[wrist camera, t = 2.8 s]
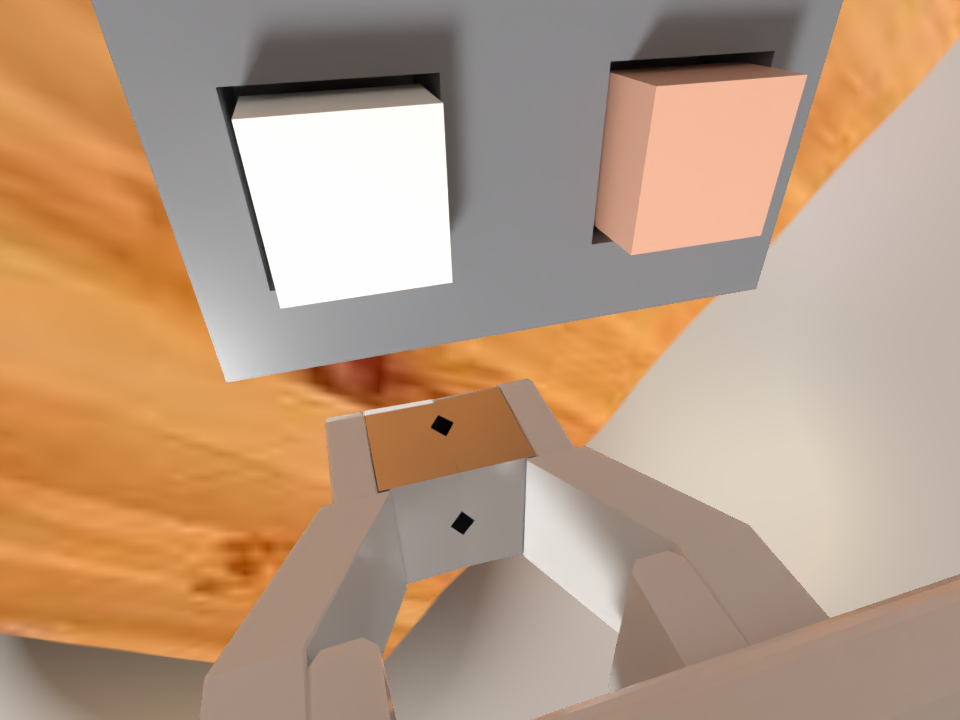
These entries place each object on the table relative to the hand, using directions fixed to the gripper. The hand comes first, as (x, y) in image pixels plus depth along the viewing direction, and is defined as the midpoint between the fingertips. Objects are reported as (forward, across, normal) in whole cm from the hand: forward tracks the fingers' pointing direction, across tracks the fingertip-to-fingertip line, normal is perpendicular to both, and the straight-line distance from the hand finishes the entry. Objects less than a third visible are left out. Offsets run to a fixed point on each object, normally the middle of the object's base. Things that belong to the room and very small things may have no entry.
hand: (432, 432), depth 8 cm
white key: (+11, 0, -1) cm, 12 cm away
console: (+16, -5, -1) cm, 16 cm away
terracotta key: (+12, -11, -1) cm, 16 cm away
